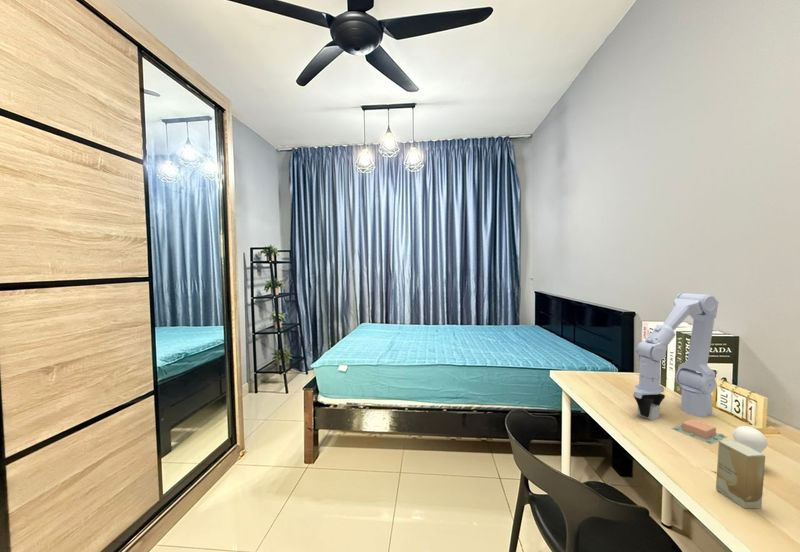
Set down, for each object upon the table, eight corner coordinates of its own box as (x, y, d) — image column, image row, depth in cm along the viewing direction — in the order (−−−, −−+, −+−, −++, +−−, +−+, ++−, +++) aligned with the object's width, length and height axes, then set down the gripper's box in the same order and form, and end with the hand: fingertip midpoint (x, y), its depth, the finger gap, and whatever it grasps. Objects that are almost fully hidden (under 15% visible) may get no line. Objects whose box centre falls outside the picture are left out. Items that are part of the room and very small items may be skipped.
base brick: (691, 426, 104) (691, 418, 104) (715, 435, 98) (715, 427, 98) (681, 430, 101) (682, 422, 101) (706, 439, 96) (706, 431, 96)
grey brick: (645, 414, 114) (645, 401, 114) (659, 420, 110) (659, 405, 110) (637, 416, 112) (638, 403, 112) (652, 422, 108) (652, 408, 108)
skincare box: (714, 489, 75) (716, 439, 75) (731, 488, 76) (732, 438, 75) (746, 510, 69) (748, 455, 68) (764, 509, 69) (766, 454, 69)
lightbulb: (773, 477, 80) (775, 434, 79) (744, 474, 81) (746, 432, 81) (752, 462, 86) (753, 423, 85) (725, 459, 87) (726, 420, 87)
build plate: (687, 424, 106) (687, 420, 106) (727, 439, 97) (727, 435, 97) (671, 431, 102) (671, 427, 102) (711, 447, 93) (711, 442, 93)
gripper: (648, 370, 117) (647, 406, 117) (624, 375, 111) (623, 413, 111) (671, 376, 111) (670, 414, 111) (647, 382, 105) (646, 422, 105)
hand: (648, 414), depth 111 cm, fingers closed on grey brick, 4 cm apart
